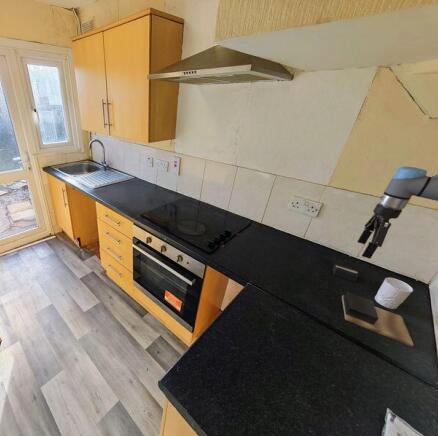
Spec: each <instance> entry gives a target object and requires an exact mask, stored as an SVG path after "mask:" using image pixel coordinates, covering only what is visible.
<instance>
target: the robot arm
mask: <svg viewBox="0 0 438 436" xmlns="http://www.w3.org/2000/svg"><path fill="white" fill-rule="evenodd" d="M427 174H428V171H427V170H426V169H423V168H418V167H415V166H400V167H398V168H397V169H396V171H395V173H394V175H393V176H392V178H391V179H390V180H389V182H388V185H387V186H386V188H385V189H384V191H383V193H382V195H379V200H378V203H377V204H376V205H375V207H374V208H373V215H372V216H371V217H370V219H368V221H367V222H366V223H365V224H364V229H363V231H362V233H361V234H360V236H359V238H358V240H357V243H359V244H362V245H366V244H368V245H367V246H366V248H365V249H364V250H363V252H362V253H361V257H363V258H367V259H372V258H373V255H374V254H375V252H376V251H377V249H378V248H382V247H383V244H384V243H385V239H386V237H387V234H388V231H389V229H390V228H391V226H392V222H390V220H391V219H394V220H395V219H398V218H399V217H400V215H401V213H402V212H403V209H405V208H406V207H407V205H408V203H409V202H410V200H411V198H412V197H413V196H414V197H417V198H423V199H427V200H432V201H436V202H438V175H435V174H434V175H435V176H433V175H431V176H432V177H431V176H429V175H427ZM372 233H373V235H372ZM371 235H372V238H371V241H368V240H369V238H370V237H371ZM367 242H368V243H367Z"/></svg>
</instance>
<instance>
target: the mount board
mask: <svg viewBox="0 0 438 436" xmlns="http://www.w3.org/2000/svg"><path fill="white" fill-rule="evenodd" d="M341 302H342V308H343V314H344V320H345V321H346V322H347V321H348V322H349V323H352V324H355V325H357V326H360V327H362V328H365V329H367V330H370V331H372V332H375V333H377V334H378V335H382V336H385V337H386V338H390V339H392V340H394V341H396V342H400V343H402V344H404V345H407V346H408V347H409V346H410V347H414V346H415V344H414V342H413V340H412V337H411V335H410V332H409V330H408V328H407V326H406V324H405V321H404V319H403V317H402V315H399V314H396V313H393V312H390V311H388V310H385V309H382V308H379V307H377V306H375V303H374V301H373V300H371V299H369V298H366V297H363V296H360V295H358V294H354V293H352V292H350V291H346V293H345V294H343V295H341Z"/></svg>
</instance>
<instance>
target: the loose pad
mask: <svg viewBox="0 0 438 436" xmlns="http://www.w3.org/2000/svg"><path fill="white" fill-rule="evenodd" d="M332 273H333V276H334V275H335V276H334V277H337V276H338V277H337V278H340V277H341V278H340V279H343V278H344V280H346V279H347V281H349V280H350V282H352V281H353V282H352V283H356V282H357V279H358V278H359V274H358V270H357V269H356V268H353V267H350V266H347V265H343V264H339V263H337V262H335V263H334V265H333V267H332Z"/></svg>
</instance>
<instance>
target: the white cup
mask: <svg viewBox="0 0 438 436" xmlns="http://www.w3.org/2000/svg"><path fill="white" fill-rule="evenodd" d="M413 292H414V288H413V287H412V286H410V284H408V283H406V282H404V281H402V280H400V279H397V278H394V277H385V278H384V280H383V281H382V283H381V284H380V287H379V288H378V290H377V292H376V295H375V296H374V300H375V302H376V303H377V304H379V305H380V306H382V307H385V308H387V309H391V310H397V308H398V307H399V306H400V305H401V304H403V303H404V302H405V301H406V300H407V298H408V297H409V296H410V295H411V294H412V293H413Z"/></svg>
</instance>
